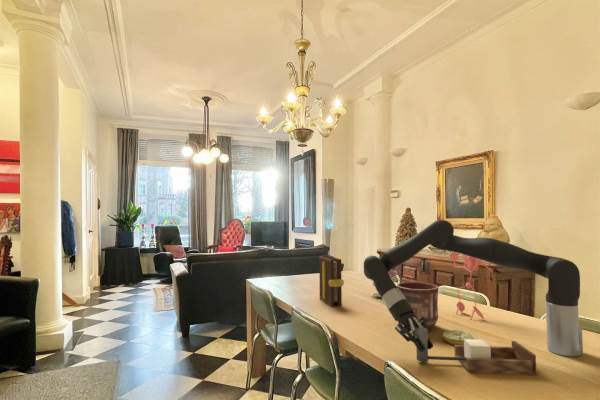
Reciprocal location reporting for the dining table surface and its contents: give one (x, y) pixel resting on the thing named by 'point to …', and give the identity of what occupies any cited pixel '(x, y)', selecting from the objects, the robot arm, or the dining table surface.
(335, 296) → the book
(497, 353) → the walnut lane
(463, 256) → the figurine
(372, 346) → the dining table surface
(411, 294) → the pottery
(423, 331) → the block with knobbed rod
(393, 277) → the flower
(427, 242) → the robot arm
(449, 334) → the decorated donut
